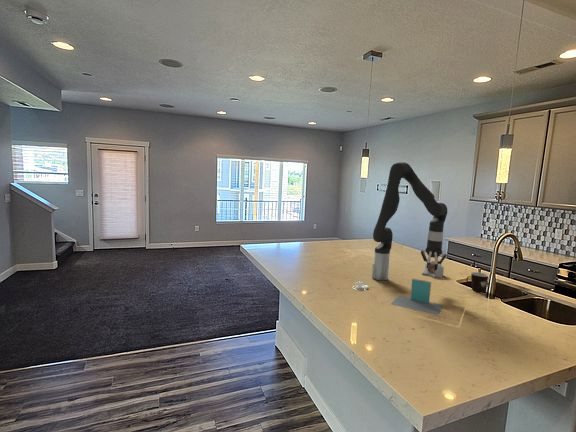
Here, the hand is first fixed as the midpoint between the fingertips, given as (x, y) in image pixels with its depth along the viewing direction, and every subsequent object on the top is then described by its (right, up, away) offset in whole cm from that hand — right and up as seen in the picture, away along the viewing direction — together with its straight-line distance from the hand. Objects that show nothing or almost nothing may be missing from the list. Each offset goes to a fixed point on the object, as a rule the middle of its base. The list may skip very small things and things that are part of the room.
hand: (431, 269), depth 176 cm
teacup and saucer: (-37, -13, +6) cm, 39 cm away
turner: (-1, -1, -1) cm, 2 cm away
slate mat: (-14, -16, -16) cm, 26 cm away
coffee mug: (+31, -14, +12) cm, 36 cm away
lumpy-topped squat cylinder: (+20, -11, +43) cm, 49 cm away
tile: (-11, -14, -11) cm, 21 cm away
